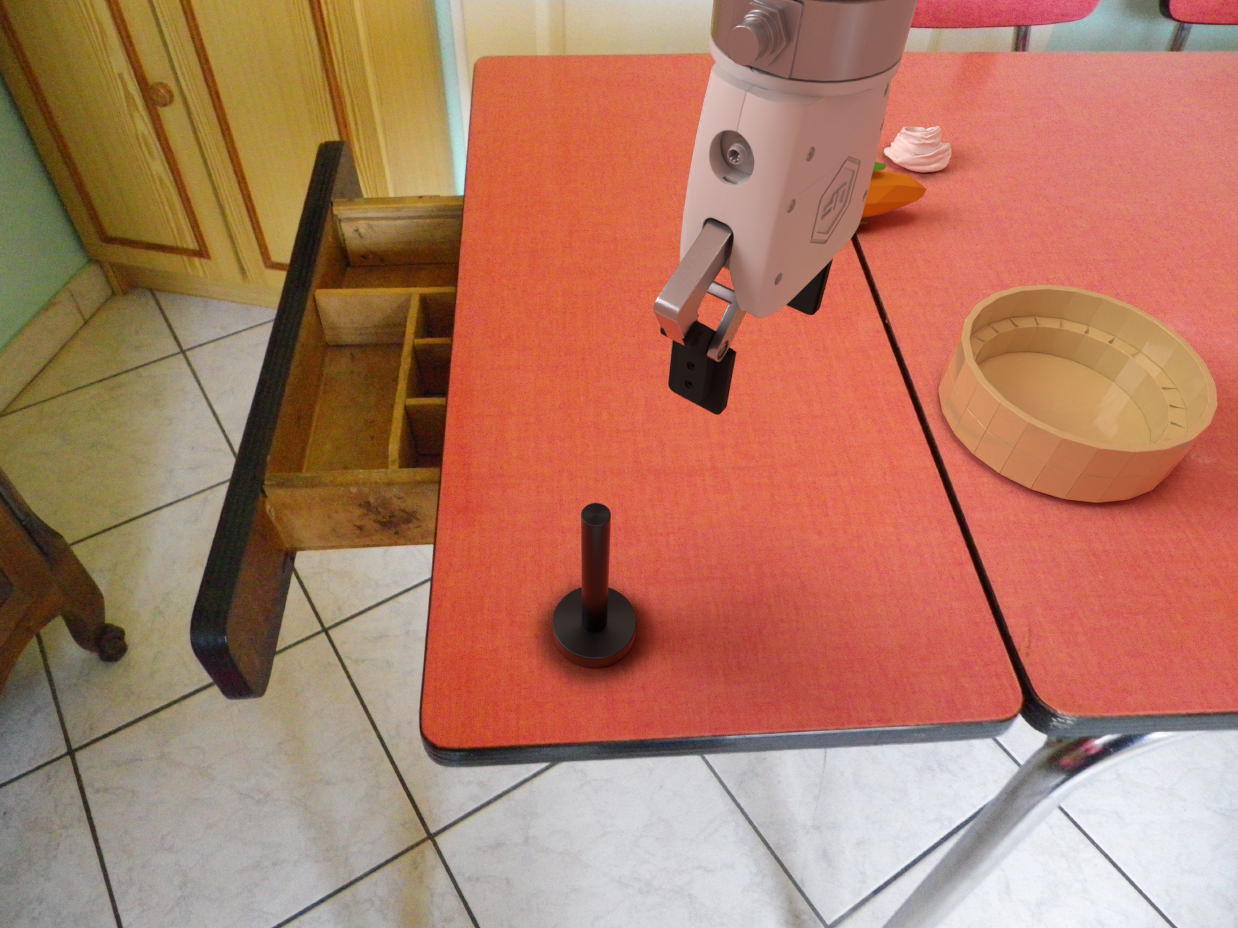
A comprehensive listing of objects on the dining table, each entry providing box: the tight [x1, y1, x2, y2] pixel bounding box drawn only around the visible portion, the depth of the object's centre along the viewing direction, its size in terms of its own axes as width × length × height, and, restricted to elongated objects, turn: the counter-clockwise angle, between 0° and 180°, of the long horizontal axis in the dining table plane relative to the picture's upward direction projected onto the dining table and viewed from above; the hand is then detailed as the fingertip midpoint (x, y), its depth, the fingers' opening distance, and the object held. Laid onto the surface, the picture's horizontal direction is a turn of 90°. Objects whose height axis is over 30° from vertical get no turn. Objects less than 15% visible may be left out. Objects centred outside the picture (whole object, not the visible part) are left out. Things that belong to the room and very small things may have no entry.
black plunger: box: [551, 502, 638, 669], centre depth 56 cm, size 6×6×14 cm
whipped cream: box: [883, 125, 953, 173], centre depth 104 cm, size 8×7×5 cm
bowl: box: [938, 284, 1219, 504], centre depth 74 cm, size 20×20×7 cm
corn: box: [859, 160, 927, 226], centre depth 94 cm, size 7×8×20 cm
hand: (746, 349), depth 46 cm, fingers open, 9 cm apart
